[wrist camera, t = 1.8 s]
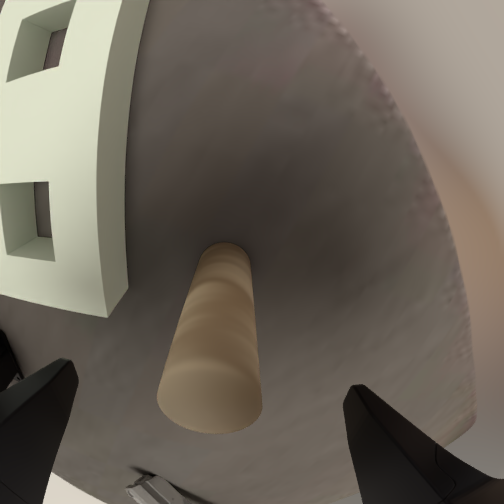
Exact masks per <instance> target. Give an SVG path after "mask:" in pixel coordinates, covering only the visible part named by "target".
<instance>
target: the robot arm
mask: <svg viewBox="0 0 504 504" xmlns="http://www.w3.org/2000/svg"><path fill="white" fill-rule="evenodd" d="M13 379H14V380H17V381H19V382H18V383H16V384H15V385H13V386H11V387H9V388H8V389H6V388H7V387H8V386H9V384H10V383H11V381H12V380H13ZM78 383H79V379H78V375H77V372H76V370H75V367H74V364H73V362H72V361H71V360H69V359H65V358H59V359H58V360H56V361H54V362H52V363H51V364H49V365H47V366H45V367H44V368H42V369H40V370H39V371H37V372H35V373H33V374H32V375H30V376H28V377H27V378H25V379H23V376H22V374H21V372H20V370H19V368H18V366H17V364H16V361H15V359H14V357H13V354H12V352H11V350H10V347H9V345H8V342H7V340H6V337H5V335H4V333H3V332H2V331H0V504H43V499H44V495H45V492H46V488H47V484H48V481H49V477H50V474H51V471H52V467H53V464H54V461H55V458H56V455H57V452H58V449H59V446H60V443H61V440H62V437H63V434H64V431H65V429H66V426H67V423H68V420H69V417H70V413H71V409H72V405H73V401H74V398H75V394H76V391H77V387H78ZM343 410H344V417H345V424H346V431H347V439H348V445H349V449H350V453H351V457H352V461H353V465H354V469H355V473H356V477H357V481H358V485H359V489H360V493H361V497H362V502H363V504H504V479H497V478H493V477H490V476H488V475H486V474H484V473H482V472H481V471H479V470H477V469H475V468H474V467H472V466H470V465H468V464H467V463H465V462H463V461H462V460H460V459H459V458H457V457H455V456H454V455H453V454H451V453H450V452H448V451H447V450H445V449H444V448H443V447H442V446H440V445H439V444H438V443H436V442H435V441H434V440H432V439H431V438H430V437H429V436H427V435H426V434H425V433H423V432H422V431H421V430H420V429H418V428H417V427H416V426H415V425H413V424H412V423H411V422H410V421H408V420H407V419H406V418H405V417H403V416H402V415H401V414H400V413H398V412H397V411H396V410H395V409H393V408H392V407H391V406H390V405H388V404H387V403H386V402H385V401H383V400H382V399H381V398H380V397H379V396H377V395H376V394H375V393H374V392H372V391H371V390H370V389H369V388H368V387H366V386H365V385H363V384H359V385H352V386H351V387H350V389H349V391H348V393H347V395H346V397H345V400H344V402H343Z"/></svg>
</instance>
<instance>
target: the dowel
mask: <svg viewBox="0 0 504 504" xmlns="http://www.w3.org/2000/svg"><path fill="white" fill-rule="evenodd" d="M157 402H158V405H159V407H160V409H161V410H162V412H163V413H164V414H165V415H166V416H167V417H168V418H169V419H170V420H172V421H173V422H175V423H176V424H178V425H180V426H182V427H184V428H187V429H189V430H193V431H196V432H201V433H208V434H225V433H231V432H236V431H239V430H242V429H244V428H246V427H248V426H250V425H251V424H253V423H254V422H255V421H256V420H257V419H258V417H259V416H260V414H261V411H262V395H261V383H260V371H259V359H258V347H257V335H256V323H255V311H254V299H253V287H252V275H251V263H250V260H249V257H248V255H247V254H246V252H245V251H244V250H243V249H242V248H240V247H239V246H237V245H235V244H232V243H226V242H222V243H217V244H214V245H212V246H210V247H208V248H207V249H206V250H205V251H204V252H203V254H202V255H201V257H200V260H199V263H198V266H197V269H196V271H195V274H194V277H193V280H192V283H191V286H190V289H189V292H188V295H187V298H186V301H185V304H184V307H183V310H182V313H181V316H180V319H179V322H178V325H177V329H176V332H175V335H174V338H173V341H172V344H171V348H170V351H169V354H168V358H167V361H166V364H165V368H164V371H163V374H162V378H161V381H160V385H159V388H158V392H157Z"/></svg>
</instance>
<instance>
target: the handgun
mask: <svg viewBox="0 0 504 504" xmlns="http://www.w3.org/2000/svg"><path fill="white" fill-rule="evenodd" d="M134 483H135V484H134V485H129V486H127V487H126V488H125V490H126V491H127V493H128V496H129V497H132V498H133V499H135V500H136V501H137V502H138V503H139V504H191V503H190V502H189V501H188V500H187V499H186V498H184V497H183V496H182V495H181V494H180V493H178V492H177V491H176V490H175V489H174V488H173V487H172V486H171V485H170V484H169V483H168V482H167V481H166V480H165V479H163V478H161V477H160V476H158V475H157V476H153V477H152V476H149V475H144V476H142V477H140V478H139V479H138V480H136V481H135V482H134Z"/></svg>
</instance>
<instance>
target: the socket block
mask: <svg viewBox="0 0 504 504" xmlns="http://www.w3.org/2000/svg"><path fill="white" fill-rule="evenodd" d="M149 1H150V0H6V1H5V4H4V6H3V9H2V11H1V14H0V294H2V295H6V296H10V297H13V298H17V299H21V300H25V301H29V302H33V303H37V304H42V305H46V306H50V307H55V308H59V309H64V310H69V311H74V312H79V313H84V314H89V315H95V316H100V317H106V318H108V317H109V315H110V314H111V312H112V311H113V309H114V308H115V306H116V305H117V304H118V302H119V301H120V299H121V298H122V296H123V295H124V294H125V292H126V291H127V289H128V288H129V287H128V276H127V262H126V244H125V160H126V143H127V130H128V119H129V109H130V100H131V92H132V85H133V78H134V72H135V66H136V60H137V54H138V49H139V44H140V39H141V34H142V30H143V25H144V21H145V17H146V13H147V9H148V5H149ZM65 28H68V29H67V33H66V37H65V41H64V45H63V49H62V53H61V58H60V63H59V67H55V68H51V69H47V70H44V71H43V67H44V62H45V58H46V53H47V49H48V45H49V41H50V37H51V34H52V32H55V31H58V30H62V29H65ZM43 181H49V200H50V216H51V228H52V238H48V237H38V235H37V226H36V215H35V200H34V182H43Z"/></svg>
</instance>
